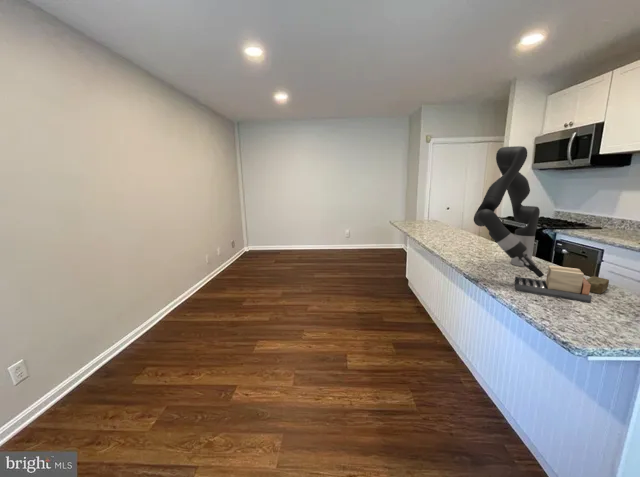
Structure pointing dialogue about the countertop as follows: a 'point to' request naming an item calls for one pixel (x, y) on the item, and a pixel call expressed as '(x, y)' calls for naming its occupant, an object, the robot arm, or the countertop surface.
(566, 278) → the birch slab
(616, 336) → the countertop surface
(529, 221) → the robot arm
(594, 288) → the stone block
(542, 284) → the roller track
